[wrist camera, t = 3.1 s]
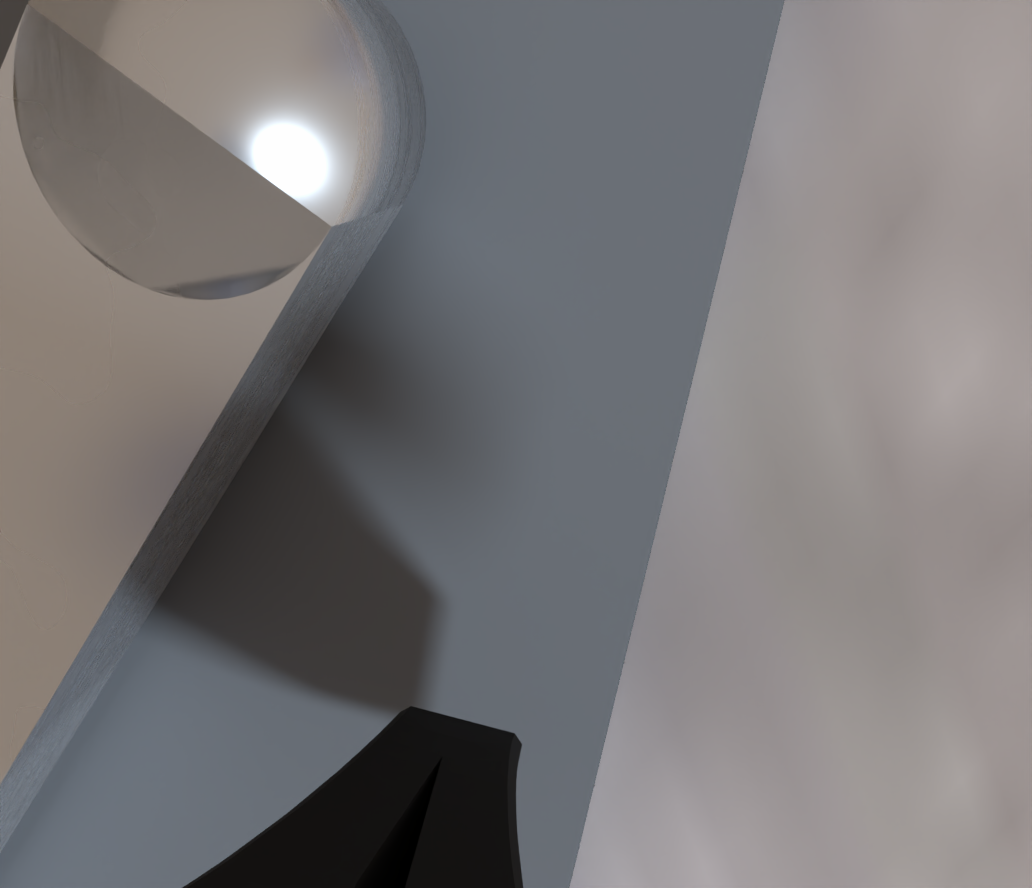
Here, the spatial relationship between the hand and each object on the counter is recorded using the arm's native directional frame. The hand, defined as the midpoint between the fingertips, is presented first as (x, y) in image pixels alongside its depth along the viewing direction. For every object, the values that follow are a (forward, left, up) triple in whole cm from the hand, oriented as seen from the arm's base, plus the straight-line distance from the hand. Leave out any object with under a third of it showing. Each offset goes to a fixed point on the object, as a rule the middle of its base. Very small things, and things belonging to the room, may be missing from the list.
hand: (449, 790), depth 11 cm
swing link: (-1, +7, -1) cm, 7 cm away
